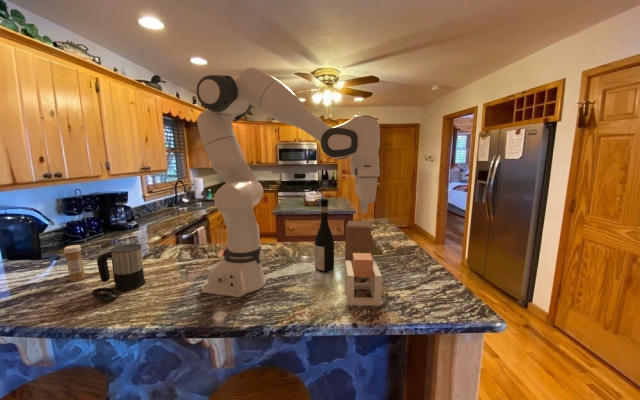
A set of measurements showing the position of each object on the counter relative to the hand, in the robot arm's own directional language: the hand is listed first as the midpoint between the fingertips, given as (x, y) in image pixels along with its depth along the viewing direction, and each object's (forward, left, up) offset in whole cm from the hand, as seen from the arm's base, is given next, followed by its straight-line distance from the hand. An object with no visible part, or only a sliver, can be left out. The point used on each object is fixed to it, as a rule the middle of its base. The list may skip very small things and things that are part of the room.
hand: (363, 212), depth 84 cm
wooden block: (+1, +20, -29) cm, 36 cm away
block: (0, 0, -21) cm, 21 cm away
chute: (0, 0, -29) cm, 29 cm away
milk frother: (-85, +1, -29) cm, 90 cm away
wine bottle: (-13, +20, -29) cm, 38 cm away
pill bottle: (-109, +9, -29) cm, 113 cm away
